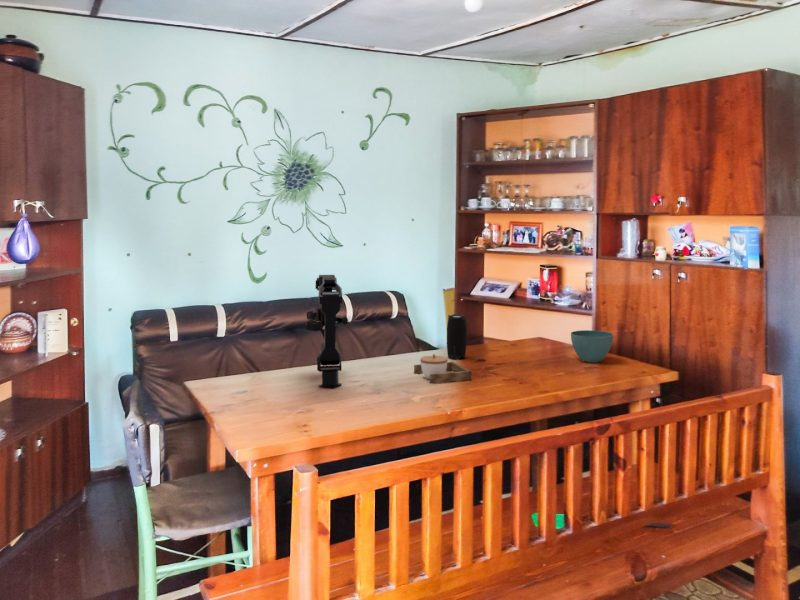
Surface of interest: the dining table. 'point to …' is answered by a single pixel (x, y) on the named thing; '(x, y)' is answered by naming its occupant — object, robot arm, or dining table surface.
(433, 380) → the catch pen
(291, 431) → the dining table surface
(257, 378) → the dining table surface
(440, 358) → the lidded jar
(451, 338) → the portable speaker
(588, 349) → the teal round bowl
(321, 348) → the robot arm
